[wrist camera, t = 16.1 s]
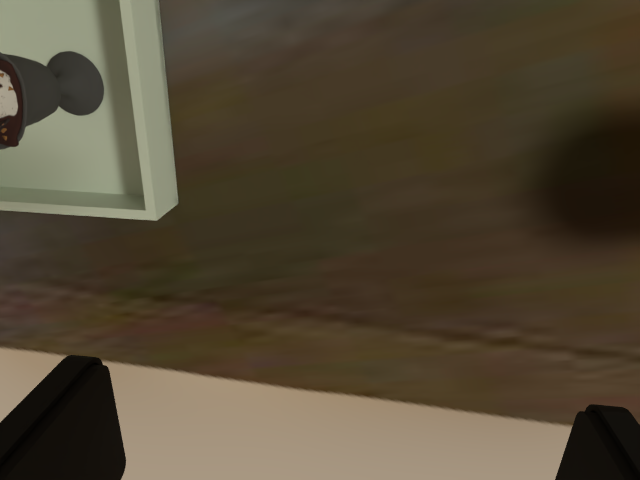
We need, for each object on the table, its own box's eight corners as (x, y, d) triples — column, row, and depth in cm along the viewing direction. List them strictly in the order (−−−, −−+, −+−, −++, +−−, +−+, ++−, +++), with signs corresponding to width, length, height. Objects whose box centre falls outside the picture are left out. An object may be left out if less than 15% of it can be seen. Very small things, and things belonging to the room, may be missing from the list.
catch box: (-67, -32, 35) (-126, -43, 31) (156, -28, 34) (126, -38, 29) (-9, 191, 42) (-50, 206, 38) (178, 203, 41) (156, 220, 36)
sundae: (36, 27, 35) (-178, 13, 21) (119, 55, 35) (-42, 58, 22) (32, 110, 38) (-160, 145, 24) (109, 136, 38) (-39, 184, 24)
